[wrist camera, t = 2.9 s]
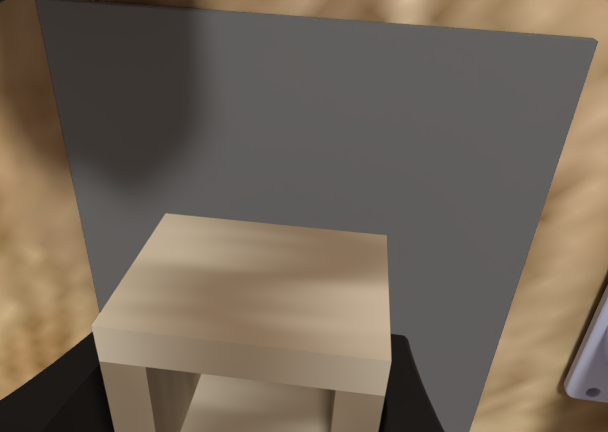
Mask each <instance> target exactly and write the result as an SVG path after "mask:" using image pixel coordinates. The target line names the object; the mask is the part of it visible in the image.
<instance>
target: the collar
mask: <svg viewBox="0 0 608 432" xmlns="http://www.w3.org/2000/svg"><path fill="white" fill-rule="evenodd" d="M92 331H93V335H94V340H95V344H96V349H97V353H98V358H99V362H100V367H101V371H102V376H103V380H104V385H105V390H106V394H107V399H108V403H109V408H110V412H111V417H112V421H113V426H114V430H115V432H378V430H379V425H380V420H381V414H382V409H383V404H384V398H385V393H386V388H387V382H388V377H389V372H390V366H391V336H390V310H389V284H388V258H387V235H377V234H367V233H357V232H347V231H337V230H327V229H317V228H307V227H297V226H287V225H277V224H267V223H257V222H247V221H237V220H227V219H218V218H208V217H198V216H188V215H178V214H168V213H166V214H165V215H164V217H163V218H162V220H161V221H160V223H159V224H158V226H157V227H156V229H155V230H154V232H153V233H152V235H151V236H150V238H149V239H148V241H147V242H146V244H145V246H144V247H143V249H142V250H141V252H140V253H139V255H138V256H137V258H136V259H135V261H134V262H133V264H132V265H131V267H130V268H129V270H128V271H127V273H126V274H125V276H124V277H123V279H122V280H121V282H120V283H119V285H118V287H117V288H116V290H115V291H114V293H113V294H112V296H111V297H110V299H109V300H108V302H107V303H106V305H105V306H104V308H103V309H102V311H101V312H100V314H99V315H98V317H97V318H96V320H95V321H94V323H93V324H92Z"/></svg>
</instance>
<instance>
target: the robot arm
mask: <svg viewBox="0 0 608 432" xmlns="http://www.w3.org/2000/svg"><path fill="white" fill-rule="evenodd" d="M390 336H391V366H390V372H389V377H388V382H387V388H386V393H385V398H384V404H383V409H382V414H381V420H380V425H379V430H378V432H444V430H443V427H442V425H441V423H440V421H439V419H438V417H437V415H436V413H435V411H434V408H433V406H432V404H431V402H430V399H429V397H428V395H427V393H426V390H425V388H424V385H423V383H422V380H421V378H420V375H419V373H418V370H417V367H416V364H415V361H414V358H413V355H412V352H411V349H410V345H409V341H408V339H407V338H406V337H405V336H404V335H397V334H390ZM564 388H565V391H566V393H567V395H568V396H570V397H572V398H576V399H583V400H591V401H598V402H606V403H608V285H607V287H606V289H605V291H604V294H603V296H602V298H601V300H600V303H599V305H598V307H597V309H596V312H595V314H594V316H593V318H592V321H591V323H590V325H589V327H588V330H587V332H586V334H585V336H584V339H583V341H582V343H581V345H580V348H579V350H578V352H577V354H576V357H575V359H574V361H573V363H572V366H571V368H570V370H569V372H568V375H567V377H566V379H565V381H564ZM591 388H593V389H591ZM0 432H115V430H114V426H113V421H112V417H111V412H110V408H109V403H108V399H107V394H106V390H105V385H104V380H103V376H102V371H101V367H100V362H99V358H98V353H97V349H96V344H95V340H94V335H93V332H91V333H90V334H89V335H88V336H87V337H85V338H84V339H83V340H82V341H80V342H79V343H78V344H77V345H75V346H74V347H73V348H72V349H70V350H69V351H68V352H67V353H65V354H64V355H63V356H62V357H60V358H59V359H58V360H57V361H55V362H54V363H53V364H51V365H50V366H49V367H47V368H46V369H44V370H43V371H42V372H40V373H39V374H38V375H36V376H35V377H33V378H32V379H31V380H29V381H28V382H27V383H25V384H24V385H22V386H21V387H20V388H18V389H17V390H15V391H14V392H12V393H11V394H9V395H8V396H6V397H5V398H3V399H2V400H0Z"/></svg>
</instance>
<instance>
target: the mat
mask: <svg viewBox="0 0 608 432" xmlns="http://www.w3.org/2000/svg"><path fill="white" fill-rule="evenodd" d="M35 1H36V6H37V11H38V16H39V20H40V25H41V30H42V35H43V40H44V45H45V50H46V54H47V59H48V64H49V69H50V74H51V79H52V84H53V88H54V93H55V98H56V103H57V108H58V113H59V118H60V122H61V127H62V132H63V137H64V142H65V147H66V152H67V156H68V161H69V166H70V171H71V176H72V181H73V186H74V190H75V195H76V200H77V205H78V210H79V215H80V219H81V224H82V229H83V234H84V239H85V244H86V249H87V253H88V258H89V263H90V268H91V273H92V278H93V283H94V287H95V292H96V297H97V302H98V307H99V312H101V311H102V309H103V308H104V306H105V305H106V303H107V302H108V300H109V299H110V297H111V296H112V294H113V293H114V291H115V290H116V288H117V287H118V285H119V283H120V282H121V280H122V279H123V277H124V276H125V274H126V273H127V271H128V270H129V268H130V267H131V265H132V264H133V262H134V261H135V259H136V258H137V256H138V255H139V253H140V252H141V250H142V249H143V247H144V246H145V244H146V242H147V241H148V239H149V238H150V236H151V235H152V233H153V232H154V230H155V229H156V227H157V226H158V224H159V223H160V221H161V220H162V218H163V217H164V215H165V214H166V213H168V214H178V215H188V216H198V217H208V218H218V219H227V220H237V221H247V222H257V223H267V224H277V225H287V226H297V227H307V228H317V229H327V230H337V231H347V232H357V233H367V234H377V235H387V258H388V284H389V310H390V334H397V335H404V336H405V337H406V338H407V339H408V341H409V345H410V349H411V352H412V355H413V358H414V361H415V364H416V367H417V370H418V373H419V375H420V378H421V380H422V383H423V385H424V388H425V390H426V393H427V395H428V397H429V399H430V402H431V404H432V406H433V408H434V411H435V413H436V415H437V417H438V419H439V421H440V423H441V425H442V427H443V430H444V432H469V430H470V427H471V424H472V421H473V418H474V415H475V412H476V409H477V406H478V403H479V400H480V397H481V394H482V391H483V388H484V385H485V382H486V379H487V376H488V373H489V370H490V367H491V364H492V361H493V358H494V355H495V352H496V349H497V346H498V343H499V340H500V337H501V334H502V331H503V328H504V325H505V322H506V319H507V315H508V312H509V309H510V306H511V303H512V300H513V297H514V294H515V291H516V288H517V285H518V282H519V279H520V276H521V273H522V270H523V267H524V264H525V261H526V258H527V255H528V252H529V249H530V246H531V243H532V240H533V237H534V234H535V231H536V228H537V225H538V222H539V219H540V216H541V213H542V210H543V207H544V204H545V201H546V198H547V195H548V191H549V188H550V185H551V182H552V179H553V176H554V173H555V170H556V167H557V164H558V161H559V158H560V155H561V152H562V149H563V146H564V143H565V140H566V137H567V134H568V131H569V128H570V125H571V122H572V119H573V116H574V113H575V110H576V107H577V104H578V101H579V98H580V95H581V92H582V89H583V86H584V83H585V80H586V77H587V74H588V71H589V67H590V64H591V61H592V58H593V55H594V52H595V49H596V46H597V43H598V41H596V40H595V39H593V38H584V37H570V36H557V35H544V34H530V33H517V32H503V31H490V30H476V29H463V28H450V27H436V26H423V25H409V24H396V23H383V22H369V21H356V20H342V19H329V18H316V17H302V16H289V15H275V14H262V13H248V12H235V11H222V10H208V9H195V8H181V7H168V6H155V5H141V4H128V3H114V2H101V1H88V0H35Z"/></svg>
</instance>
